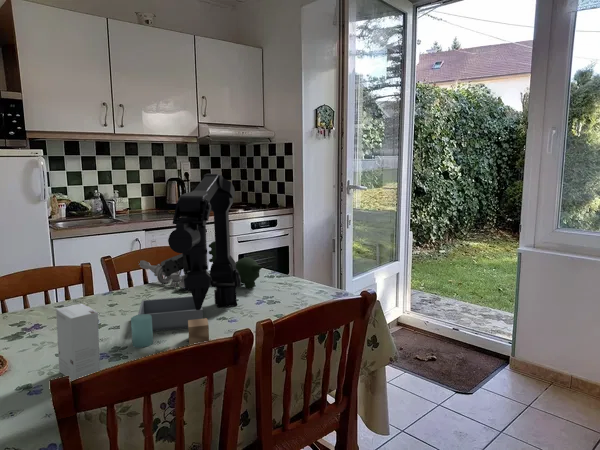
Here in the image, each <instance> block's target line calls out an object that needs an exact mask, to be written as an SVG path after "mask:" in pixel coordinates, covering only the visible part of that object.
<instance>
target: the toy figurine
mask: <svg viewBox="0 0 600 450" xmlns="http://www.w3.org/2000/svg"><path fill="white" fill-rule="evenodd" d="M208 247H209V248H210V249H211V250H209V251H208V255H210V256H211V258H209V259H208V262H209V263H213V262H214V260H215V258H216V250H215V240H213V241H212V242H211V243H209V244H208ZM235 262H236V269H237V270H238V273H239V275H240V280H241V284H244V287H245V289H246V290H249V289H250V290H251V289H253V288H254V287H255V286H256V282H255V281H256V280H257V279H258V278H260V270H261V269H263V266H262V265H259V264H258V262H257V261H256V260H255V259H253V258H251V257H247V256H245V257H242V258H240V259H237V261H235ZM210 270H211V267H210ZM210 270H209V271H210ZM234 282H235V281H234Z"/></svg>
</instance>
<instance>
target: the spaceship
mask: <svg viewBox="0 0 600 450" xmlns="http://www.w3.org/2000/svg"><path fill="white" fill-rule="evenodd" d="M139 261H140V263H139V262H138V263H139V264H138V266H139V265H140V266H139V267H140V268H141V269H144V270H150V272H152V273H153V276H154V277H156V279H157V280H158V282H159V283H160V284H163V283H166V284H168V283H169V282H171V283H170V286H171V287H173V286H174V288H177V285H179V287H180V288H181V287H182V288H185V287H184V275H185V274H184V275H182V271H183V269H182V270H180V271H178V272H175V273H173V274H171V275H170V276H167V277H166V276H165V274H164V272H163V271H162V268H161V263H158V264H156V265H151V263H150V262H148V261H146V260H144V259H143V260H139ZM167 282H168V283H167ZM163 285H164V284H163Z"/></svg>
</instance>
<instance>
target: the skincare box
mask: <svg viewBox="0 0 600 450" xmlns="http://www.w3.org/2000/svg"><path fill="white" fill-rule="evenodd" d="M55 310H56V313H55V314H56V326H57V327H56V328H57V329H56V330H57V349H58V350H57V352H58V372H59V373H60V374H62V375H63V376H65V377H66V375H69V376H70V378H71V380H74V379H77V378H79V377H82V376H85V375H88V374H91V373H94V372H97V371H100V372H101V365H100V362H101V361H100V340H99V339H100V338H99V336H100V335H99V312H98V311H96V310H94V309H92V308H91V306H88V305H85V304H83V303H82V302H81V303H77V304H72V305H68V306H63V307H58V308H56V309H55ZM71 380H70V381H71Z"/></svg>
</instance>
